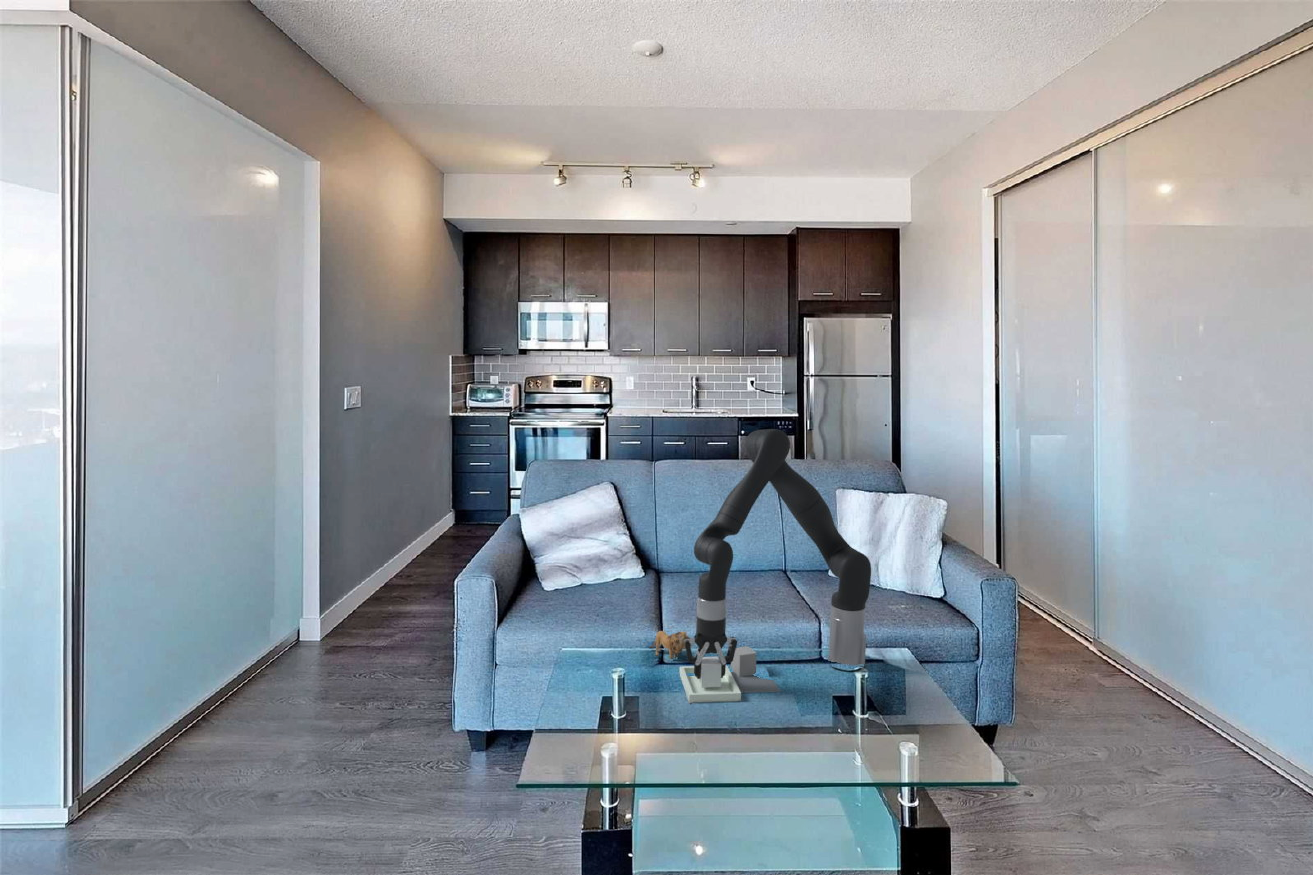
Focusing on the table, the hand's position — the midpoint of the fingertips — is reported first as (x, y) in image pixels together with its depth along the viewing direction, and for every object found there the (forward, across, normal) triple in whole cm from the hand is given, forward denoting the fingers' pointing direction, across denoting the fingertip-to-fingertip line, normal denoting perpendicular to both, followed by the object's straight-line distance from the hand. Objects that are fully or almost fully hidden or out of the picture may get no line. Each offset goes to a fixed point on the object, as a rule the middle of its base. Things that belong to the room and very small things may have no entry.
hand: (709, 677), depth 200 cm
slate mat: (+3, -12, -4) cm, 13 cm away
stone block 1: (+2, 0, 0) cm, 2 cm away
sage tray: (+3, 0, 0) cm, 3 cm away
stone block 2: (+3, -11, -8) cm, 14 cm away
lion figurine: (+3, +8, -21) cm, 22 cm away
